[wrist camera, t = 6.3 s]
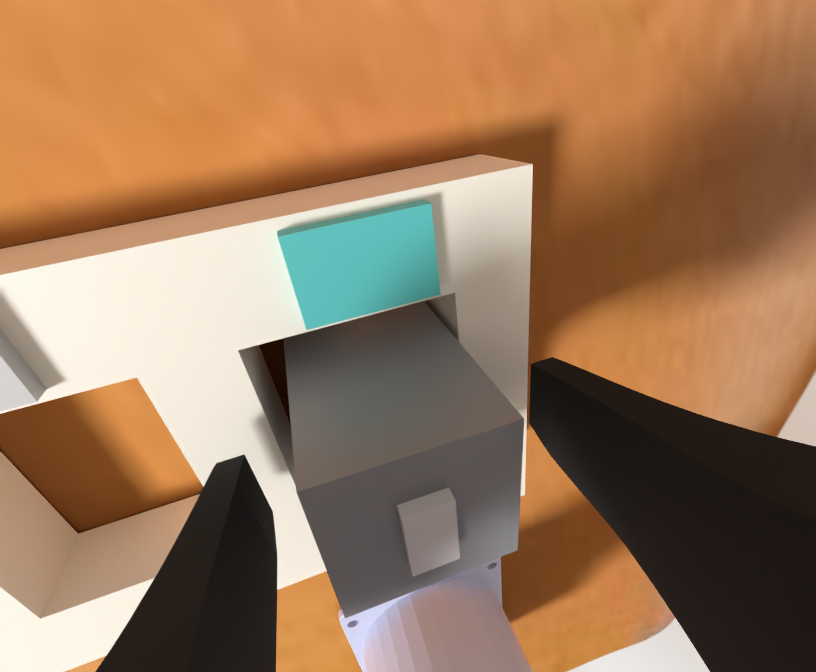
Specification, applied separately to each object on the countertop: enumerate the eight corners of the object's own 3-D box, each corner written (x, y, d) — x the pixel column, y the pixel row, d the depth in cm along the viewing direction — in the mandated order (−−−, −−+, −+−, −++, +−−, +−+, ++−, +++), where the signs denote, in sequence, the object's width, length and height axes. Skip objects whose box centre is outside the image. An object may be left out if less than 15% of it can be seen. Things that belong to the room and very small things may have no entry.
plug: (428, 395, 14) (525, 562, 9) (314, 428, 13) (347, 634, 8) (416, 292, 12) (533, 430, 7) (282, 323, 11) (298, 507, 6)
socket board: (491, 445, 16) (531, 503, 14) (53, 600, 13) (6, 708, 11) (480, 154, 11) (543, 165, 8) (-289, 306, 8) (-546, 396, 5)
